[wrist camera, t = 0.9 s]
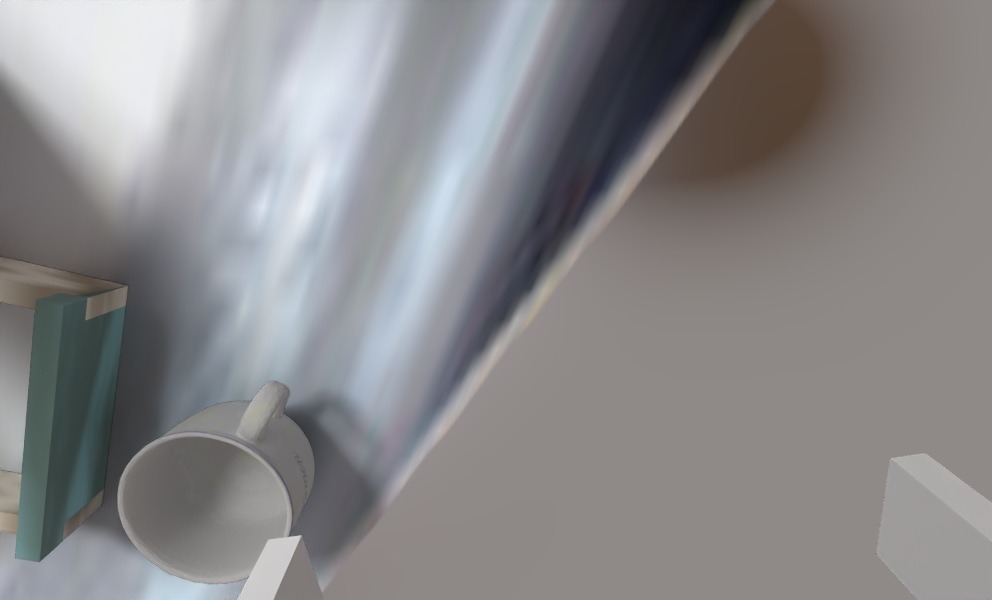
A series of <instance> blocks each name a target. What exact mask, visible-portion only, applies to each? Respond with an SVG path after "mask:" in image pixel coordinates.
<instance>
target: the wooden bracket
mask: <svg viewBox="0 0 992 600" xmlns="http://www.w3.org/2000/svg"><path fill="white" fill-rule="evenodd" d="M127 292H128V285H123V284H119V283H114V282H110V281H106V280H101V279H97V278H93V277H88V276H84V275H80V274H75V273H71V272H67V271H62V270H58V269H53V268H49V267H45V266H40V265H36V264H32V263H27V262H23V261H19V260H14V259H10V258H6V257H1V256H0V302H2V303H7V304H11V305H16V306H20V307H25V308H30V309H34V310H35V315H34V328H33V340H32V353H31V365H30V377H29V390H28V402H27V415H26V427H25V439H24V452H23V464H22V474H19V473H14V472H8V471H2V470H0V531H4V532H10V533H16V534H17V539H16V551H15V558H17V559H23V560H29V561H36V562H40V561H41V560H42V559H44V558H45V557H46V556H47V555H48V554H49V553H50V552H51V551H52V550H53V549H55V548H56V547H57V546H58V545H59V544H60V543H61V542H62V541H63V540H64V539H66V538H67V537H68V536H69V535H70V534H71V533H72V532H73V531H74V530H76V529H77V528H78V527H79V526H80V525H81V524H82V523H83V522H84V521H85V520H87V519H88V518H89V517H90V516H91V515H92V514H93V513H94V512H95V511H97V510H98V509H99V508H100V507H101V506H102V502H103V493H104V485H105V477H106V468H107V460H108V452H109V443H110V435H111V426H112V418H113V410H114V401H115V393H116V384H117V376H118V368H119V359H120V351H121V343H122V334H123V326H124V317H125V309H126V301H127Z"/></svg>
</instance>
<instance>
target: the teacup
mask: <svg viewBox="0 0 992 600" xmlns="http://www.w3.org/2000/svg"><path fill="white" fill-rule="evenodd" d="M289 395H290V390H289V388H288V387H287V386H286V385H284V384H282V383H280V382H277V381H269V382H267V383H266V384H265V385H264V386H263V387H262V388H261V389H260V390H259V391H258V393H257V394H256V396H255V397H254V398H253V400H252V401H229V402H224V403H219V404H216V405H213V406H210V407H208V408H205V409H203V410H201V411H199V412H197V413H196V414H194V415H192V416H191V417H189V418H187V419H186V420H184V421H183V422H181V423H180V424H178V425H177V426H175V427H174V428H173V429H171V430H170V431H168V432H167V433H166V434H164V435H163V436H162V437H160V438H158V439H156V440H154V441H152V442H150V443H149V444H147V445H146V446H145V447H143V448H142V449H141V450H140V451H139V452H138V453H137V454H136V455H135V456H134V457H133V458H132V459H131V461H130V462H129V463H128V465H127V466H126V468H125V470H124V471H123V474H122V476H121V479H120V482H119V487H118V493H117V502H118V512H119V516H120V520H121V523H122V525H123V528H124V530H125V532H126V534H127V535H128V537H129V538H130V540H131V541H132V543H133V544H134V545H135V546H136V548H137V549H138V550H139V551H140V552H141V553H142V554H143V555H144V556H145V557H146V558H148V559H149V560H150V561H151V562H152V563H153V564H155V565H157V566H158V567H160V568H161V569H162V570H164V571H165V572H167V573H168V574H170V575H175V576H177V577H180V578H182V579H186V580H189V581H192V582H198V583H205V584H226V583H233V582H236V581H241V580H244V579H246V578H249V576H250V574H251V572H252V570H253V568H254V566H255V564H256V563H257V561H258V559H259V557H260V555H261V553H262V551H263V549H264V547H265V545H266V543H267V541H268V540H269V539H277V538H284V537H290V535H291V531H292V530H293V528H294V526H295V524H296V523H297V521H298V519H299V517H300V515H301V513H302V511H303V509H304V507H305V505H306V502H307V500H308V498H309V496H310V493H311V490H312V486H313V482H314V475H315V463H314V457H313V452H312V449H311V446H310V443H309V441H308V439H307V437H306V436H305V434H304V433H303V431H302V430H301V429H300V427H299V426H298V425H297V424H296V423H295V422H294V421H293V420H292V419H290V418H289V417H288V416H287V415H285V414H283V412H284V408H285V405H286V403H287V401H288V398H289Z"/></svg>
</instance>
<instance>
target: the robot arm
mask: <svg viewBox="0 0 992 600" xmlns="http://www.w3.org/2000/svg"><path fill="white" fill-rule="evenodd" d="M876 555H877V556H878V557H879V558H880V559H881V560H882V561H883V562H884V564H885V565H886V566H887V567H888V568H889V569H890V570H891V571H892V572H893V573H894V575H895V576H896V577H897V578H898V579H899V580H900V581H901V582H902V583H903V585H904V586H905V587H906V588H907V589H908V590H909V591H910V592H911V593H912V594H913V596H914V597H915V598H916V599H917V600H992V503H991V502H990V501H989V500H987V499H986V498H985V497H983V496H982V495H981V494H979V493H978V492H976V491H975V490H974V489H972V488H971V487H970V486H969V485H967V484H966V483H964V482H963V481H962V480H960V479H959V478H958V477H956V476H955V475H954V474H952V473H951V472H950V471H948V470H947V469H946V468H944V467H943V466H942V465H940V464H939V463H938V462H936V461H935V460H934V459H932V458H931V457H929V456H928V455H927V454H926V453H924V454H917V455H909V456H901V457H894V458H890V462H889V469H888V476H887V482H886V489H885V496H884V504H883V509H882V516H881V524H880V530H879V537H878V543H877V550H876ZM238 600H324V598H323V595H322V592H321V590H320V587H319V584H318V581H317V578H316V575H315V572H314V569H313V567H312V564H311V561H310V558H309V555H308V552H307V549H306V546H305V544H304V541H303V538H302V535H300V536H292V537H284V538H277V539H269V540H268V541H267V543H266V545H265V547H264V549H263V551H262V553H261V555H260V557H259V559H258V561H257V563H256V564H255V566H254V568H253V570H252V572H251V574H250V576H249V578H248V580H247V582H246V584H245V586H244V588H243V590H242V592H241V594H240V596H239V598H238Z"/></svg>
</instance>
